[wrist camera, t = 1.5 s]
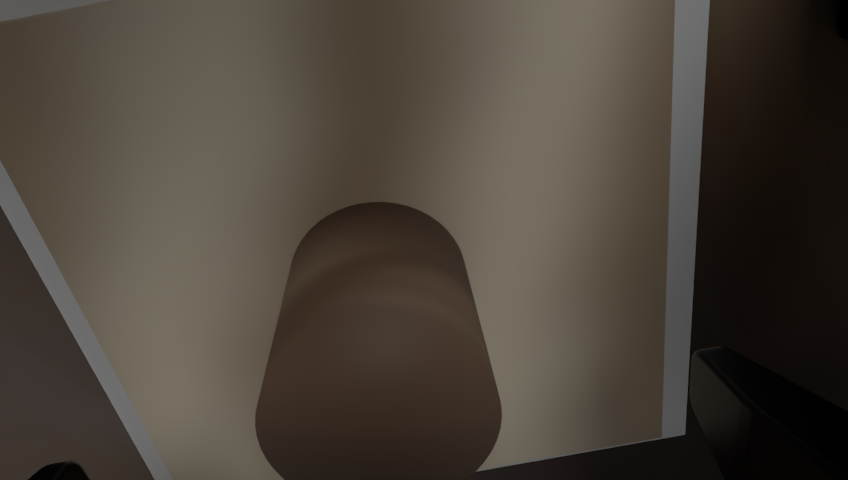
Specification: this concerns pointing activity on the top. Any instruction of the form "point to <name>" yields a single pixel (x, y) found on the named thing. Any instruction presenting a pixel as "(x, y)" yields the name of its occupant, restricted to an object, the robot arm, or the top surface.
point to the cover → (357, 223)
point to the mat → (685, 158)
